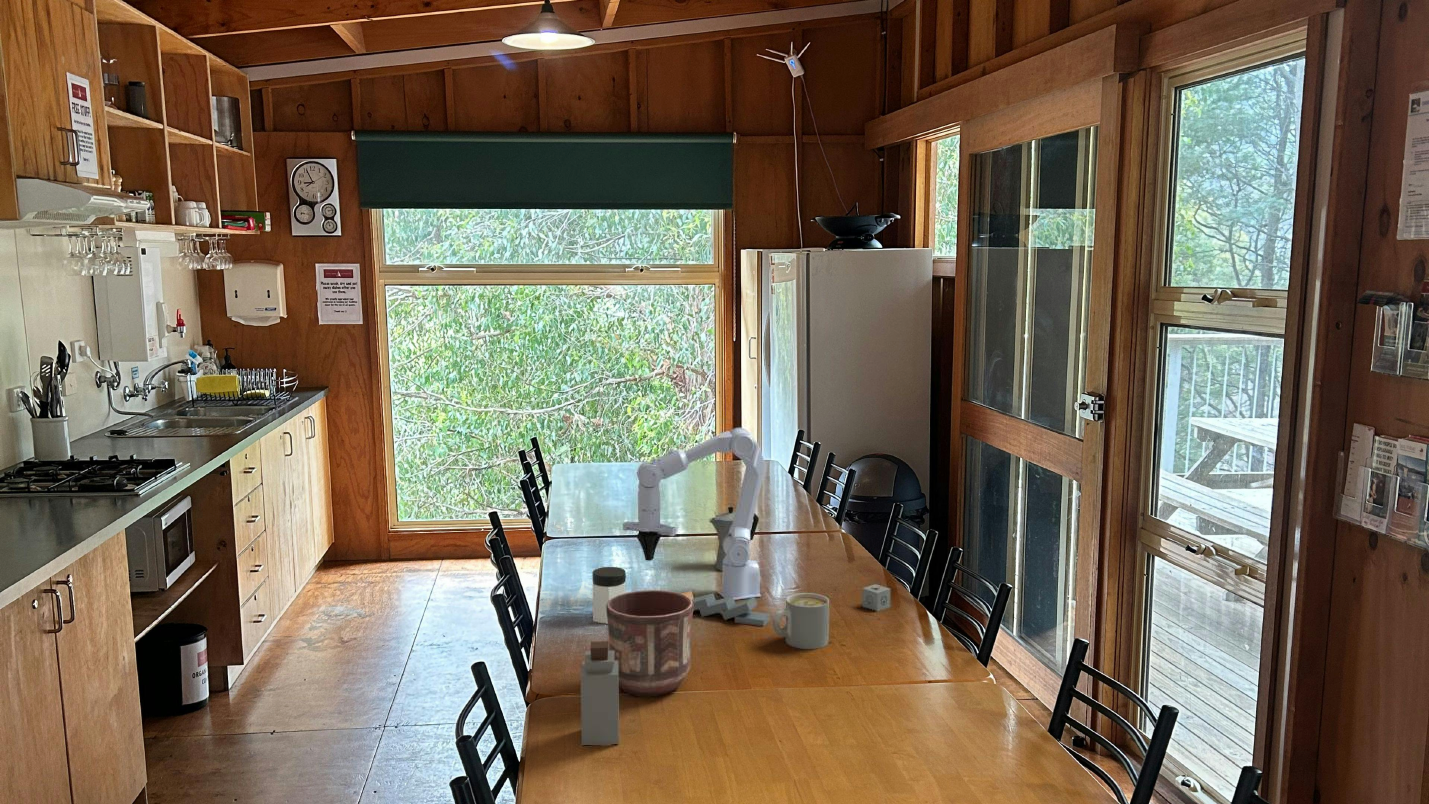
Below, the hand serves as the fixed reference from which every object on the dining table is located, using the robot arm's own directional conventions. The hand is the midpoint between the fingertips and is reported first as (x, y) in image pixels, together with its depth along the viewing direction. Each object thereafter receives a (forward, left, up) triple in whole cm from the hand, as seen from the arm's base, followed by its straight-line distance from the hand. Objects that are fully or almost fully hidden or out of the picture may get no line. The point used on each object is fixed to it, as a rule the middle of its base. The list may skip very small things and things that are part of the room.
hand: (649, 559), depth 270 cm
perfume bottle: (+33, +72, -11) cm, 80 cm away
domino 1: (-1, +8, -10) cm, 12 cm away
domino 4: (-13, +21, -9) cm, 26 cm away
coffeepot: (-31, -17, -11) cm, 37 cm away
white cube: (-52, +28, -11) cm, 60 cm away
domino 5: (-16, +23, -10) cm, 29 cm away
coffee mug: (-23, +42, -11) cm, 49 cm away
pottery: (+17, +53, -11) cm, 57 cm away
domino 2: (-5, +12, -10) cm, 16 cm away
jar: (+14, +11, -11) cm, 21 cm away
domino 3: (-9, +16, -10) cm, 21 cm away
